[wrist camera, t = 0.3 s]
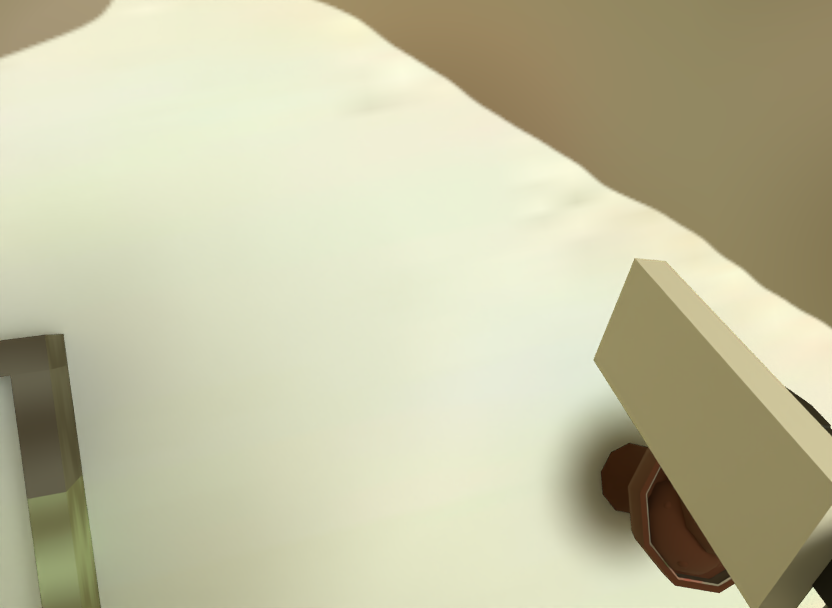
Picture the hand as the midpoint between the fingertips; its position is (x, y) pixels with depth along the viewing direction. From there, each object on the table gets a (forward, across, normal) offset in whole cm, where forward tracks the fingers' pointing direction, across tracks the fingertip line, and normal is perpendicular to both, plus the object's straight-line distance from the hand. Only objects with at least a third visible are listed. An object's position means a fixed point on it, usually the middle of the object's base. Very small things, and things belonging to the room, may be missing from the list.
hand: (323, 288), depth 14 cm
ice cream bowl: (+23, -30, +29) cm, 48 cm away
